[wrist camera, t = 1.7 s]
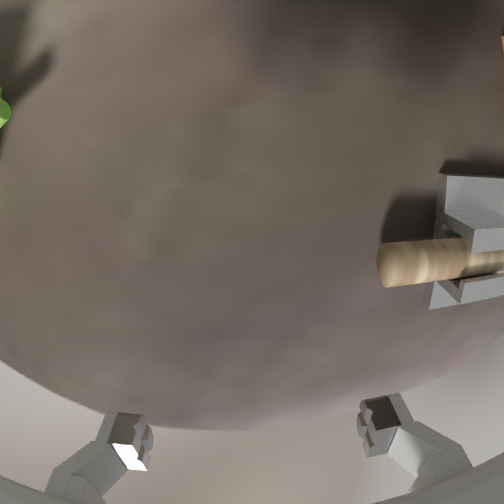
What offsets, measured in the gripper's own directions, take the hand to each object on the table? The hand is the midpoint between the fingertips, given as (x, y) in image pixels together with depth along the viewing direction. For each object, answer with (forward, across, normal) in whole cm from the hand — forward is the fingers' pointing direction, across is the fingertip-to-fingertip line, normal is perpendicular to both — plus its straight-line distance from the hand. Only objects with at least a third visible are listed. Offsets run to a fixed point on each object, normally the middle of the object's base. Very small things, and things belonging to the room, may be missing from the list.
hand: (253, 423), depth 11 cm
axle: (+14, -17, 0) cm, 22 cm away
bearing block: (+16, -19, 0) cm, 25 cm away
